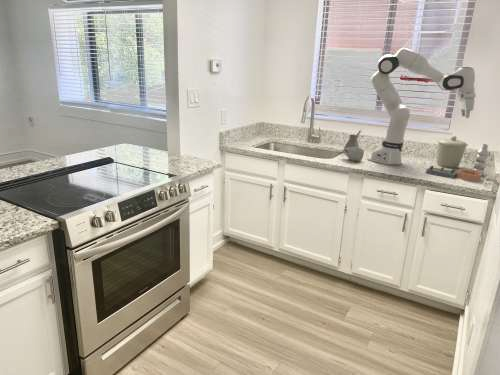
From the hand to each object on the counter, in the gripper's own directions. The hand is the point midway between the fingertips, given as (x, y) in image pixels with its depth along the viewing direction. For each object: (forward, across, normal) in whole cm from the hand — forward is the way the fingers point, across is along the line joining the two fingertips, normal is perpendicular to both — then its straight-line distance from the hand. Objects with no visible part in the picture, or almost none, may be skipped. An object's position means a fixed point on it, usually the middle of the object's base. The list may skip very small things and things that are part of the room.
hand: (465, 117), depth 235 cm
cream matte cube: (+33, +14, -13) cm, 38 cm away
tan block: (+32, +12, -18) cm, 38 cm away
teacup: (+23, 0, -69) cm, 73 cm away
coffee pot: (+23, -28, -69) cm, 77 cm away
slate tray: (+33, +13, -16) cm, 39 cm away
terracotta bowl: (+36, +18, -2) cm, 40 cm away
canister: (+34, -11, -8) cm, 37 cm away
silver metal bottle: (+37, +7, +6) cm, 38 cm away
